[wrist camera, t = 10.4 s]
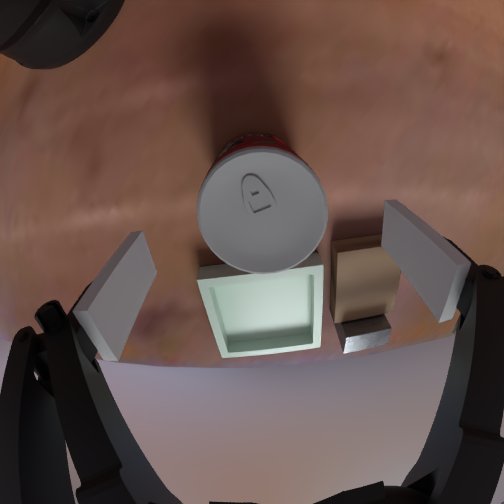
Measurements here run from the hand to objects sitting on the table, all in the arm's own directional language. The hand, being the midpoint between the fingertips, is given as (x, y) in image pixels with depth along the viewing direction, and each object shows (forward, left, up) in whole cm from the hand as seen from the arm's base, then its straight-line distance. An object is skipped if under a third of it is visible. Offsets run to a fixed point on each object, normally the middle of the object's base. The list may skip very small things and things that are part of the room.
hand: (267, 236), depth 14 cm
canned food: (0, 0, -13) cm, 13 cm away
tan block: (+13, +11, -13) cm, 21 cm away
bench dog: (+20, +11, -13) cm, 26 cm away
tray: (+16, -1, -13) cm, 20 cm away
